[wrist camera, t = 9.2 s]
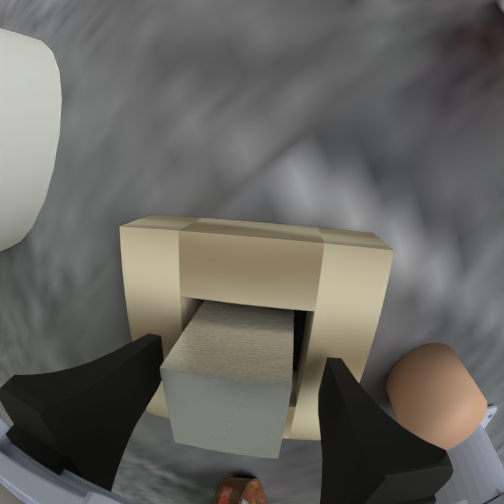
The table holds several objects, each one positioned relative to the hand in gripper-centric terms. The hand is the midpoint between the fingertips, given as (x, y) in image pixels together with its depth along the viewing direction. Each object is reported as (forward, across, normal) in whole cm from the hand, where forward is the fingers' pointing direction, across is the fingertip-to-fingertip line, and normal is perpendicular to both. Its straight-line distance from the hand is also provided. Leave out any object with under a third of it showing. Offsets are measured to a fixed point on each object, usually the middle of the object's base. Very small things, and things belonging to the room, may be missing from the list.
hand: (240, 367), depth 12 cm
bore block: (+4, 0, 0) cm, 4 cm away
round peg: (+4, -11, +3) cm, 12 cm away
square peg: (+4, 0, 0) cm, 4 cm away
